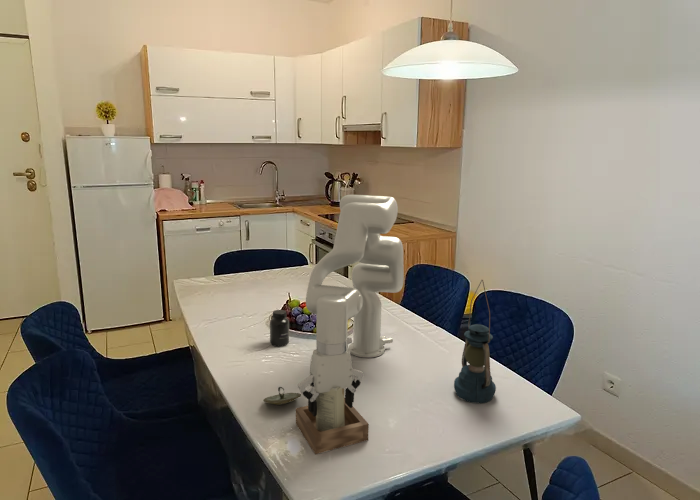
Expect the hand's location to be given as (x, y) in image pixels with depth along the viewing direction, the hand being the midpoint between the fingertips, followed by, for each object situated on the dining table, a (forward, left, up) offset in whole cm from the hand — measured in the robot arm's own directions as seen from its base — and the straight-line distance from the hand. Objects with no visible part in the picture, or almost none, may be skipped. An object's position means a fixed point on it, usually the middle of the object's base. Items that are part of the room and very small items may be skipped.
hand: (331, 409), depth 126 cm
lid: (+7, -18, -7) cm, 20 cm away
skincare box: (0, 0, -6) cm, 6 cm away
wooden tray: (0, 0, -6) cm, 6 cm away
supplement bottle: (-5, -59, -6) cm, 60 cm away
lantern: (-46, -1, -6) cm, 46 cm away
